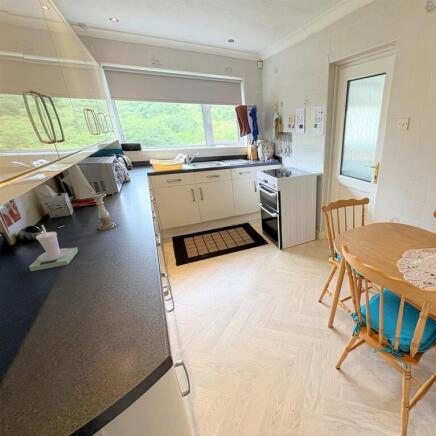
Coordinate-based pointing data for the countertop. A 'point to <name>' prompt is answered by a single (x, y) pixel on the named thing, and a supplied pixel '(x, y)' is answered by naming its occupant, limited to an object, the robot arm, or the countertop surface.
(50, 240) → the smoothie
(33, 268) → the scale
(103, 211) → the candle holder
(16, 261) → the countertop surface
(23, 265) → the countertop surface
